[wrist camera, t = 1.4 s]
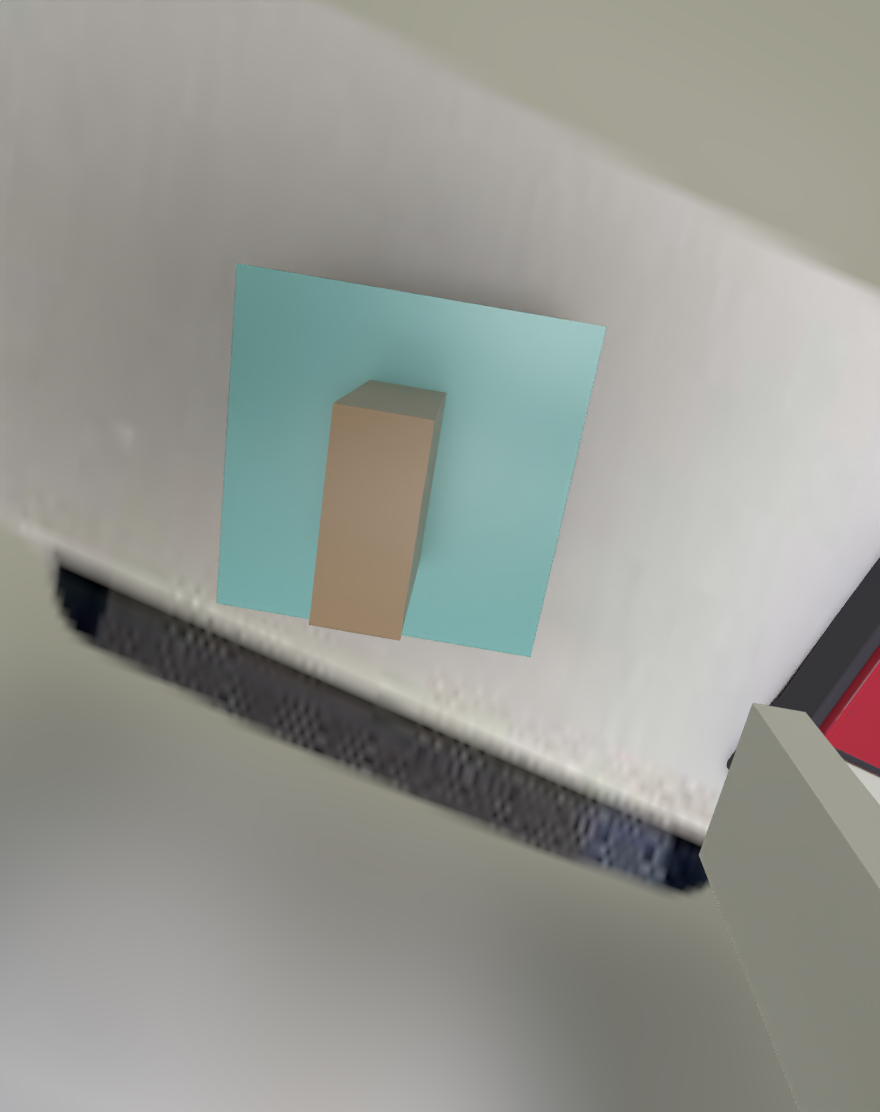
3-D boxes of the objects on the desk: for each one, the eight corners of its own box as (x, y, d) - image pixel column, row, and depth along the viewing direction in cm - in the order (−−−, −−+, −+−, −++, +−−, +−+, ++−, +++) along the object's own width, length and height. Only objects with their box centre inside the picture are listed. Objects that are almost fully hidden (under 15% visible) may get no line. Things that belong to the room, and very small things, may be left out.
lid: (260, 267, 24) (150, 247, 16) (594, 324, 24) (649, 333, 16) (238, 578, 28) (141, 685, 20) (526, 627, 28) (543, 755, 20)
